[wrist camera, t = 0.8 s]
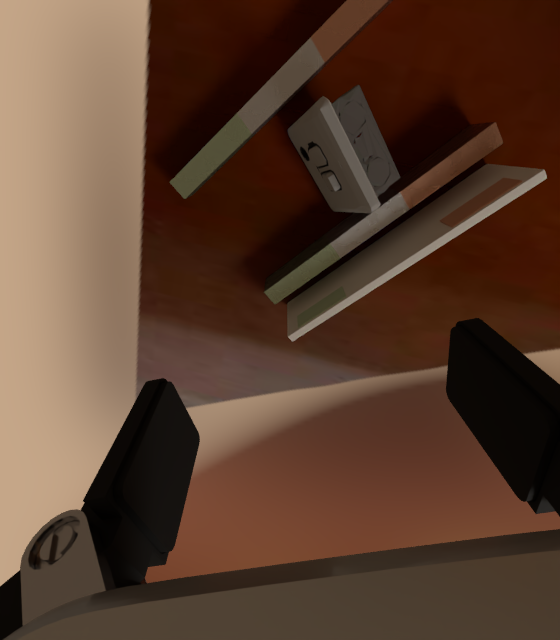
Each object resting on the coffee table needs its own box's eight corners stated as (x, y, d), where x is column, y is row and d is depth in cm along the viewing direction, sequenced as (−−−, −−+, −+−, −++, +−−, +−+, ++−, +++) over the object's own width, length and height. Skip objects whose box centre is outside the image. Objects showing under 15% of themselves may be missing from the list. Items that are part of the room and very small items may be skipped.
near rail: (400, -47, 24) (415, -70, 21) (412, -19, 25) (427, -38, 22) (178, 179, 32) (169, 182, 30) (192, 194, 33) (184, 199, 30)
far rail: (470, 124, 29) (495, 121, 26) (478, 143, 30) (503, 142, 27) (265, 278, 38) (264, 292, 34) (276, 290, 39) (275, 304, 35)
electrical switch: (284, 130, 30) (295, 117, 22) (329, 94, 29) (358, 66, 21) (331, 211, 34) (356, 227, 26) (372, 182, 33) (412, 188, 24)
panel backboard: (486, 162, 31) (543, 167, 24) (489, 170, 31) (547, 178, 24) (286, 302, 39) (286, 335, 33) (290, 307, 40) (292, 341, 33)
